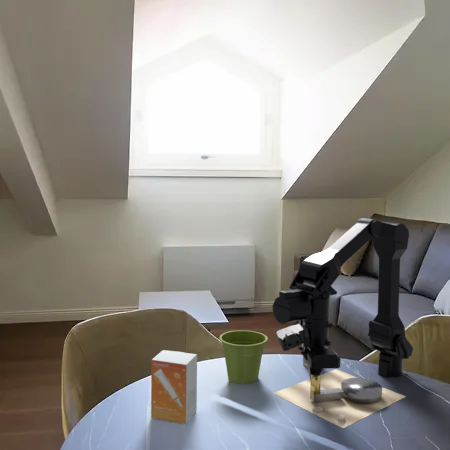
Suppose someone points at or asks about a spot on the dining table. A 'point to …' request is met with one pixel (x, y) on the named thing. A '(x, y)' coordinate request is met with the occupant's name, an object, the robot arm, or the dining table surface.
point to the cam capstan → (347, 390)
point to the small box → (174, 386)
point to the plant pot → (243, 354)
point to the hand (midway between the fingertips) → (313, 381)
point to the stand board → (339, 408)
